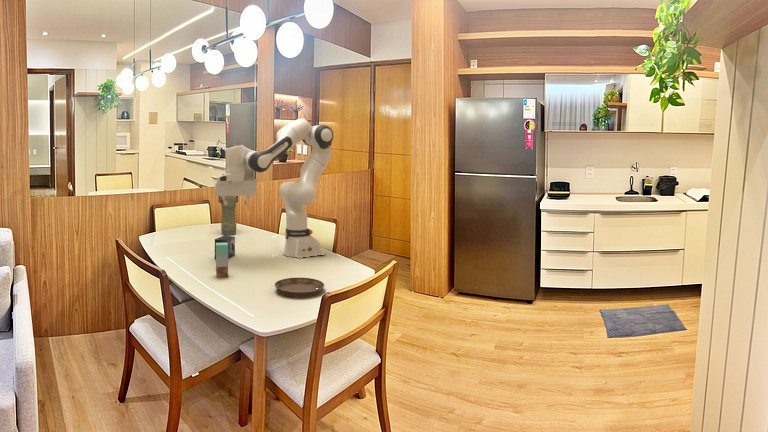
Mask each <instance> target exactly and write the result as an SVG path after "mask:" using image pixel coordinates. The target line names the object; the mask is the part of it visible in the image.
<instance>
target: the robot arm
mask: <svg viewBox="0 0 768 432" xmlns="http://www.w3.org/2000/svg"><path fill="white" fill-rule="evenodd" d="M275 137H276V141H275V143H273V144H272V145H270V146H269V147H268V148H266V149H265V150H261V151H260V150H259V151H257V150H252V149H250V148H248V147H246V146H245V145H243V144H242V143H232V144H229V145H227V146H226V149H225V165H226V169H225V173H223V174H220V175H217V176H216V182H215V184H214V189H213V191H214V192H213V194H214V196H215V197H219V196H221V197H222V199H223V201H224V205H228V204H227V203H228V202H227V201H225V199H224V198H225V196H235V197H236V196H238V197H240V196H241V197H243V196H244V197H246V199H245V200H243V205H244V206H247V205H248V201H250V197H251V196H256V195H257V194H258V192H257V191H258V189H257V185H258V179H257V178H255V177H254V176H245V174H246V173H245V171H246V169H247V170H251V171H254V172H256V173H264V172H267V170H269V168H270V167H271V166H272V164H273V162H274V161H275V160H276V159H278V158H280V156H282V155H283V154H284V153H286V152H287V151H288V150H289V149H291V148H292V147H294V146H296V145H297V144H298V143H300V142H303V143H304V144H305V145H306V146H308V147H312V149H311V152H310V154H308V157H307V158H306V159H305V161H304V162H303V164H302V166H301V167H300V170H299V172H300V176H299V179H298V181H291V180H290V181H285V182H282V183H281V185H280V186H279V189H278V192H279V193H278V194H279V195H280V197H281V199H282V202H283V205H284V210H285V213H286V214H285V215H286V217H285V219H286V220H285V221H286V224H285V225H286V227H285V231H284V236H285V237H284V238H285V245H284V248H283V249H284V250H283V252H282V254H283V256H286V257H291V258H296V259H303V257H306V258H311V257H310V256H316V257H318V256H317V255H323V254H325V255H326V251H325V250H324V249H322V246H321V243H320V242H319V240H317V238H315V237H314V236H313V235H312V234H313V233H314V232H313V230H312V229H310V228H308V213H307V211H306V210H305V207H304V205H311V204H312V203H314V201H315V199H316V197H317V191H316V187H317V184H318V181H319V179H320V178H321V176H322V174H323V172H324V171H326V170H325V169H326V168H327V166H328V165H329V162H330V161H331V158H332V155H333V153H332V150H331V149H330V147H331V146H332V143H333V140H334V131H333V130H332V128H331V127H330V126H329V125H328V126H327V125H325V124H321V125H320V124H317V125H313V126H312V125H311V124H310V122H309V121H308V120H307V119H306V118H303V117H302V118H298V119H295V120H292V121H290V122H289V123H287V124H286V125H284V126H282V127H281V128H280V129H279V130H278V131H277V132H276V135H275Z"/></svg>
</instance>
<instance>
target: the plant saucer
mask: <svg viewBox="0 0 768 432" xmlns="http://www.w3.org/2000/svg"><path fill="white" fill-rule="evenodd" d="M274 287H275V289H276V290H277V291H278V292H279V293H280V294H282V295H283V296H287V297H291V298H306V297H307V296H308V297H313V296H315V294H316V295H318V294H319V293H320V292H321V291H323V289H324V287H325V283H324V282H322V281H321V280H319V279H315V278H310V277H287V278H282V279H280V280H277V281H276V282H275V283H274ZM316 288H318V289H316ZM312 295H313V296H312ZM308 297H307V298H308Z"/></svg>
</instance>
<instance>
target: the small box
mask: <svg viewBox="0 0 768 432" xmlns="http://www.w3.org/2000/svg"><path fill="white" fill-rule="evenodd" d="M226 242H227V243H228V259H231V258H233V257H234V256H235V257H236V236H234V235H231V236H225V235H222V236H220V237H218V238H215V239H214V260H216V243H226Z"/></svg>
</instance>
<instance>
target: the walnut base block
mask: <svg viewBox="0 0 768 432" xmlns="http://www.w3.org/2000/svg"><path fill="white" fill-rule="evenodd" d="M215 272H216V273H215V275H216V278H217V279H218V278H219V279H221V278H229V266H228V267H216V266H215Z"/></svg>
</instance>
